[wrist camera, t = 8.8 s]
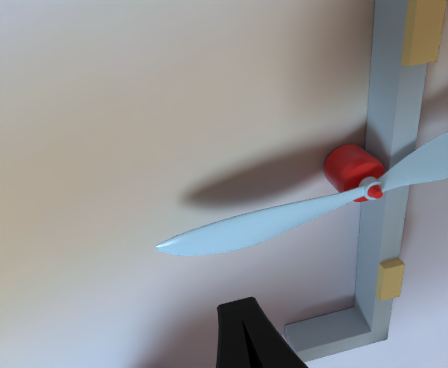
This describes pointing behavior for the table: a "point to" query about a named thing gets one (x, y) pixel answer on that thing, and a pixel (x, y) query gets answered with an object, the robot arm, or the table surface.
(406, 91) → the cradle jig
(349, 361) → the table surface
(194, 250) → the propeller
